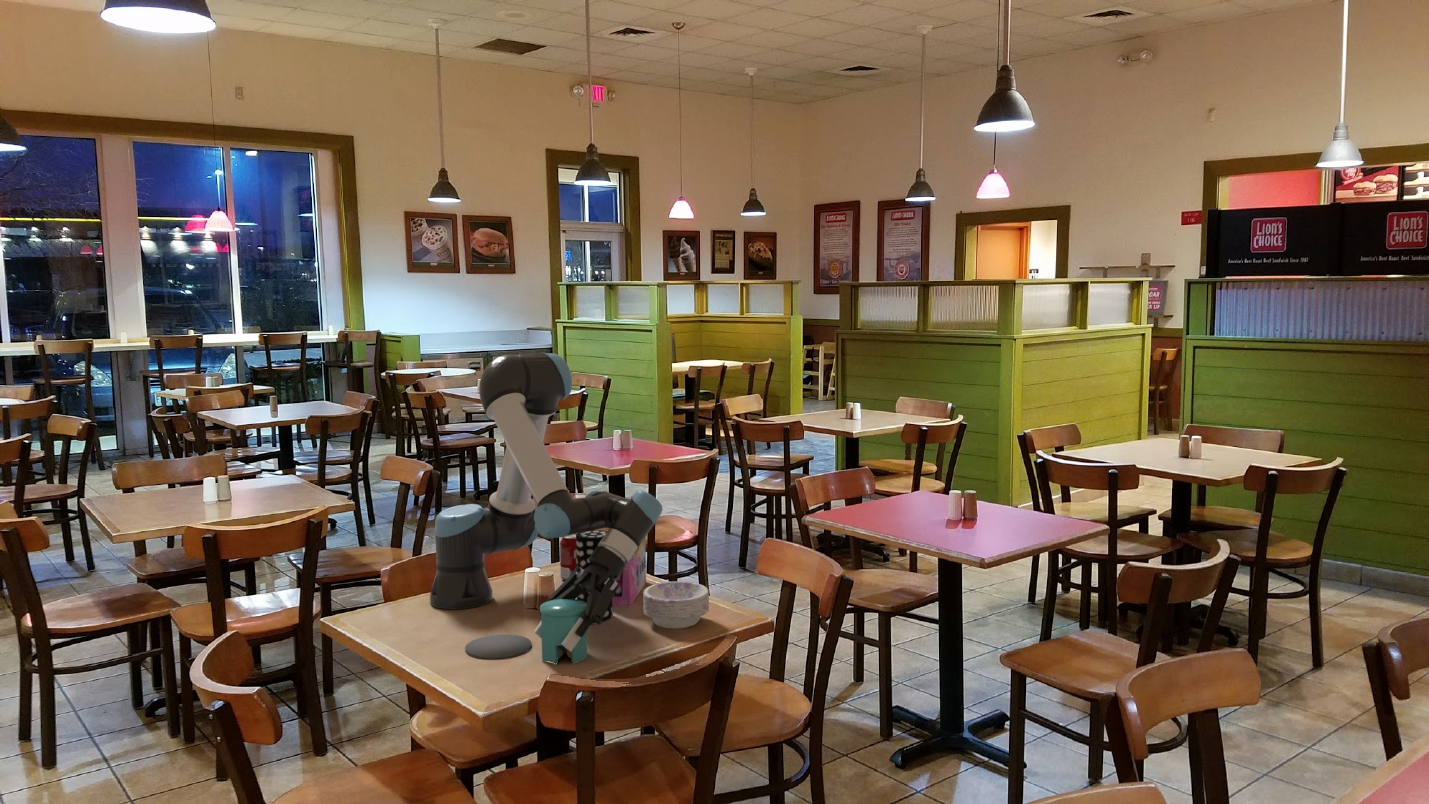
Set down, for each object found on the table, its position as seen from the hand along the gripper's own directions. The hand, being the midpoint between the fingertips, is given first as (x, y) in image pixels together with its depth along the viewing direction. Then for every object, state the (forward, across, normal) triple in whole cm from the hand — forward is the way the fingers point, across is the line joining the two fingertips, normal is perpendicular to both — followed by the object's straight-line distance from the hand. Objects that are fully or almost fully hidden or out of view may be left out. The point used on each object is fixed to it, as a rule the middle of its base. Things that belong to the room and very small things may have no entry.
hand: (551, 641), depth 214 cm
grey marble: (+2, 0, -4) cm, 4 cm away
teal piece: (+1, 0, -5) cm, 5 cm away
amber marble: (0, -2, -6) cm, 6 cm away
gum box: (-25, +29, -31) cm, 50 cm away
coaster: (+6, +14, 0) cm, 16 cm away
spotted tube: (-14, +18, -20) cm, 30 cm away
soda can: (-24, +49, -30) cm, 62 cm away
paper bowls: (-22, +2, -28) cm, 35 cm away
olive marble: (0, +2, -6) cm, 6 cm away
